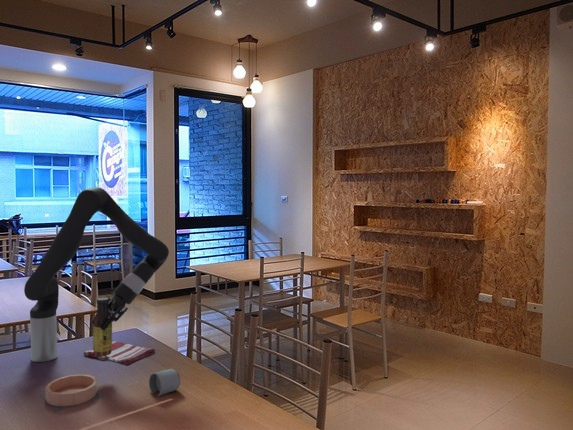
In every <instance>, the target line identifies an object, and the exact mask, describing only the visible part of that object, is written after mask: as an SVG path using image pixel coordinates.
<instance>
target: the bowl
mask: <svg viewBox="0 0 573 430" xmlns="http://www.w3.org/2000/svg"><path fill="white" fill-rule="evenodd" d="M98 384H99V383H98V379H97V378H96V377H95V376H94V375H91V374H82V373H81V374H71V375H66V376H63V377H58V378H56V379H54V380H52V381H51V382H48V383H47V385H46V387H45V388H44V389H45V392H44V394H45V399H46V401H47V402H46V401H45V402H46V403H47V404H48V405H49V404H50V405H52V406H57V407H67V406H72V407H75V406H74V405H76V406H79V405H82V404H86V403H88V402H87V401H89V400H91V399H92V398H94V397H95V396H96V394H97V391H98ZM85 402H86V403H85ZM89 402H90V401H89ZM78 404H79V405H78ZM50 405H49V406H50Z"/></svg>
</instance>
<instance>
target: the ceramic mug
mask: <svg viewBox="0 0 573 430" xmlns="http://www.w3.org/2000/svg"><path fill="white" fill-rule="evenodd" d="M180 385H181V377H180V374H179V372H178V371H177V370H176V369H174V368H170V369H169V368H168V369H165V370H159V371H155V372H152V373H151V374H150V375H149V379H148V386H149V391H150V392H151V394H154V393H156V392H159V394H157V395H156V396H157V397H160V396H164V395H166V394H168V393H171V392H175V391H176V390H178V389H179V387H180Z"/></svg>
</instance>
